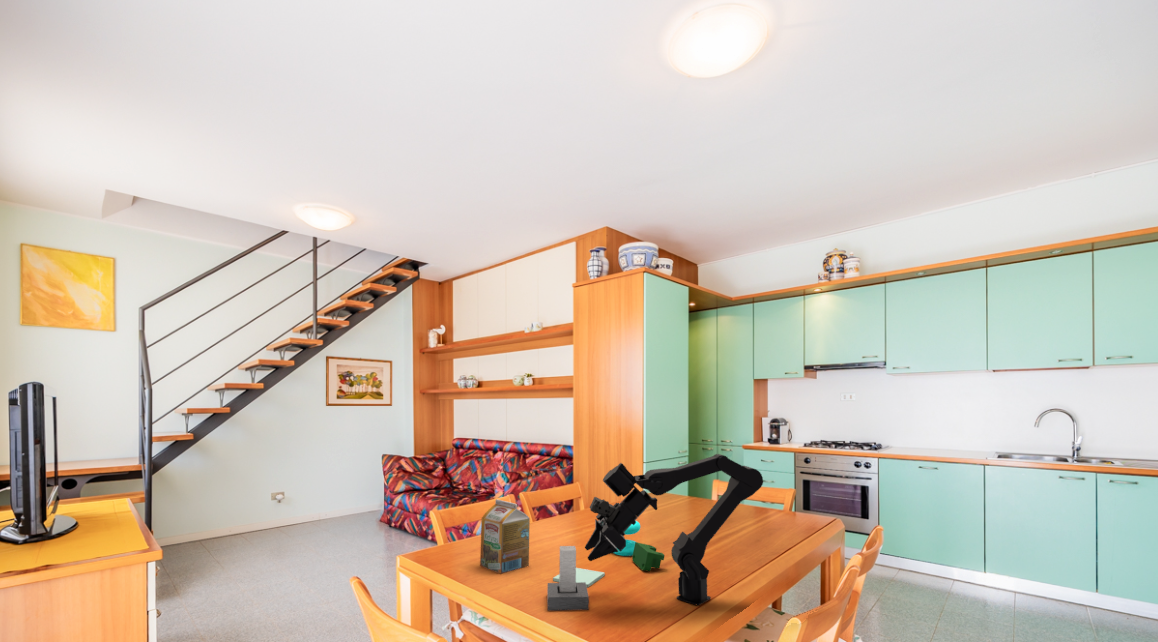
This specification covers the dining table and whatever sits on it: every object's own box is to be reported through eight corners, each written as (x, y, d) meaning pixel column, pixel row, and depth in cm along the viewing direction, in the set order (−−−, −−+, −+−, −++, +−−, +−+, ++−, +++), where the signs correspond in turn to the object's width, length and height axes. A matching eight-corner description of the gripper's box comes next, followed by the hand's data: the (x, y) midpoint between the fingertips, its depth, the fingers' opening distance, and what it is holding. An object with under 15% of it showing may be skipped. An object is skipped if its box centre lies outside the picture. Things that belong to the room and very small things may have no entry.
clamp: (657, 585, 157) (667, 560, 156) (638, 581, 156) (649, 556, 154) (647, 557, 169) (657, 534, 167) (630, 554, 168) (640, 530, 166)
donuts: (621, 526, 170) (605, 520, 178) (621, 558, 168) (605, 550, 177) (646, 523, 174) (629, 517, 183) (646, 554, 173) (629, 547, 182)
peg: (574, 599, 135) (575, 545, 136) (575, 605, 131) (576, 550, 133) (559, 599, 134) (559, 546, 136) (559, 605, 130) (560, 550, 132)
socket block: (585, 594, 138) (585, 582, 138) (588, 609, 128) (588, 596, 128) (547, 595, 137) (547, 583, 138) (547, 610, 127) (547, 597, 128)
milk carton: (480, 565, 161) (482, 501, 163) (507, 558, 168) (509, 497, 171) (500, 574, 153) (502, 506, 156) (528, 566, 161) (529, 501, 163)
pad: (604, 575, 152) (604, 572, 153) (587, 587, 143) (587, 584, 143) (571, 569, 157) (571, 566, 158) (552, 580, 148) (553, 577, 148)
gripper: (604, 481, 146) (564, 522, 144) (612, 493, 128) (566, 540, 126) (632, 510, 146) (592, 552, 143) (644, 526, 127) (599, 575, 125)
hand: (587, 554), depth 134 cm, fingers open, 9 cm apart
